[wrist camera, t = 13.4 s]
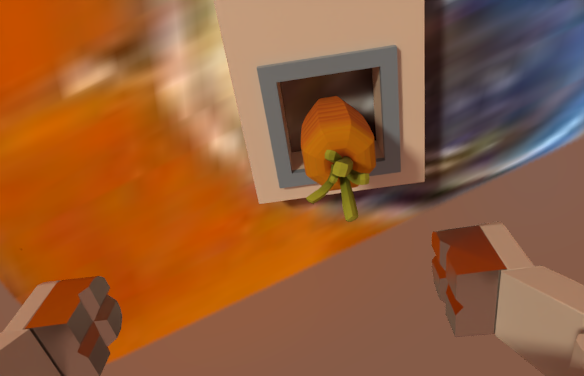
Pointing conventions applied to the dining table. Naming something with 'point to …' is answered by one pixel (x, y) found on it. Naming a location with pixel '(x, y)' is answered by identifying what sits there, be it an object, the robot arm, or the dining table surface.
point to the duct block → (322, 61)
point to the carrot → (337, 151)
